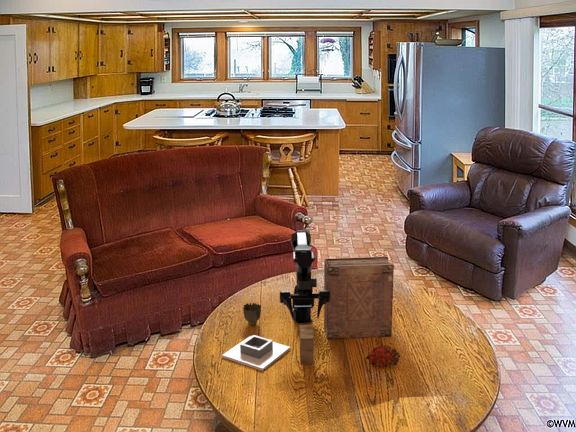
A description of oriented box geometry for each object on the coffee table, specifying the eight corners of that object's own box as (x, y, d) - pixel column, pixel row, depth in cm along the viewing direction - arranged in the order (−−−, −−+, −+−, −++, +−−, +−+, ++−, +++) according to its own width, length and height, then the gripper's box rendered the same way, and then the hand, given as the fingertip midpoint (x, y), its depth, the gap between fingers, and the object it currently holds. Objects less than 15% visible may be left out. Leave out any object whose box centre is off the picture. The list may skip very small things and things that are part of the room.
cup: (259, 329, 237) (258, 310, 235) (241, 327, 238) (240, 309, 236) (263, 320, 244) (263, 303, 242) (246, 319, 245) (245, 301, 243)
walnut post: (299, 357, 215) (299, 325, 211) (312, 357, 215) (312, 324, 211) (300, 363, 210) (300, 330, 207) (313, 363, 210) (313, 330, 207)
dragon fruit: (402, 371, 207) (368, 375, 209) (398, 349, 213) (365, 353, 214) (402, 361, 201) (367, 365, 202) (398, 339, 206) (363, 343, 207)
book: (385, 326, 238) (388, 256, 230) (391, 336, 230) (394, 264, 221) (323, 328, 237) (324, 258, 228) (327, 339, 228) (327, 267, 220)
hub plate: (251, 337, 230) (251, 327, 229) (290, 349, 221) (290, 338, 219) (222, 357, 215) (222, 346, 214) (262, 370, 206) (262, 359, 205)
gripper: (279, 270, 216) (280, 311, 209) (330, 270, 217) (332, 310, 209) (279, 282, 226) (280, 321, 218) (327, 281, 226) (330, 320, 219)
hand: (305, 318), depth 216 cm, fingers open, 9 cm apart
